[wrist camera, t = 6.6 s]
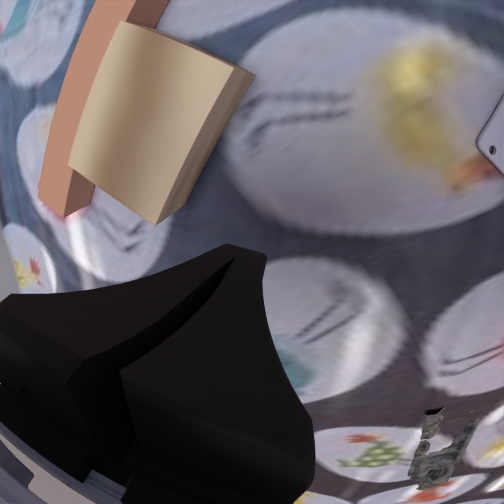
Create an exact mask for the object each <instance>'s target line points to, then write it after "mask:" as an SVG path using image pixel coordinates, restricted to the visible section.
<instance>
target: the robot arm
mask: <svg viewBox="0 0 504 504" xmlns="http://www.w3.org/2000/svg"><path fill="white" fill-rule="evenodd" d="M477 145H478V148H479V149H480V151H481V152H482V153H483V154H484V155H485V156H486V157H487V158H488V159H489V160H490V161H491V162H492V163H493V164H494V165H495V166H496V167H497V168H498V169H499V170H500V171H501V173H502V174H503V175H504V96H503V98H502V100H501V101H500V103H499V105H498V106H497V108H496V110H495V111H494V113H493V115H492V116H491V118H490V120H489V121H488V123H487V125H486V126H485V128H484V130H483V131H482V133H481V134H480V136H479V137H478V140H477ZM490 146H493V152H492V153H491V154H490V152H489V147H490ZM266 261H267V257H266V255H265V254H264V253H260V252H257V251H253V250H249V249H245V248H242V247H238V246H234V245H231V244H224V245H222V246H219V247H217V248H215V249H213V250H211V251H209V252H206V253H204V254H202V255H200V256H198V257H195V258H193V259H191V260H189V261H187V262H184V263H182V264H179V265H177V266H174V267H172V268H169V269H166V270H164V271H161V272H159V273H156V274H153V275H150V276H147V277H144V278H140V279H137V280H133V281H130V282H126V283H122V284H117V285H112V286H107V287H102V288H96V289H91V290H84V291H76V292H65V293H51V294H10V295H9V296H8V297H6V298H5V299H4V300H3V301H1V302H0V383H1V384H0V434H2V435H3V436H4V437H5V438H6V439H7V440H8V441H9V442H10V443H12V444H13V445H14V446H15V447H16V448H17V449H19V450H20V451H21V452H22V453H24V454H25V455H26V456H27V457H28V458H30V459H31V460H32V461H33V462H35V463H36V464H38V465H39V466H40V467H41V468H43V469H44V470H46V471H47V472H48V473H49V474H51V475H52V476H54V477H55V478H57V479H58V480H59V481H61V482H62V483H64V484H65V485H67V486H68V487H70V488H72V489H73V490H74V491H76V492H78V493H79V494H81V495H82V496H84V497H86V498H87V499H89V500H91V501H93V502H94V503H96V504H293V503H294V502H295V501H296V500H297V499H298V498H299V497H300V496H301V495H302V494H303V493H304V492H305V491H306V490H307V489H308V488H309V487H310V485H311V484H312V482H313V479H314V474H315V440H314V432H313V424H312V419H311V417H310V415H309V414H308V412H307V411H306V409H305V408H304V406H303V404H302V403H301V401H300V399H299V398H298V396H297V394H296V392H295V391H294V389H293V387H292V385H291V383H290V381H289V379H288V377H287V375H286V373H285V371H284V368H283V366H282V363H281V361H280V359H279V356H278V354H277V351H276V349H275V346H274V343H273V340H272V337H271V333H270V330H269V326H268V322H267V318H266V312H265V306H264V300H263V286H262V280H263V275H264V270H265V266H266ZM33 478H34V474H33V473H32V472H31V471H30V470H29V469H28V468H27V467H26V466H25V465H24V464H22V463H21V462H20V461H19V460H18V459H17V458H16V457H15V456H14V455H13V454H12V452H10V450H9V449H8V448H7V447H6V446H5V445H4V443H3V442H2V441H1V440H0V504H47V503H46V502H45V501H43V500H42V499H41V498H39V497H38V496H37V495H35V494H34V493H33V492H31V491H30V490H29V489H28V485H29V483H30V482H31V480H32V479H33Z"/></svg>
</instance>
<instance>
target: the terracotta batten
mask: <svg viewBox="0 0 504 504" xmlns="http://www.w3.org/2000/svg"><path fill="white" fill-rule="evenodd" d="M168 2H169V0H96V2H95V4H94V6H93V8H92V10H91V12H90V14H89V17H88V19H87V21H86V23H85V26H84V28H83V30H82V33H81V35H80V38H79V40H78V43H77V45H76V48H75V50H74V53H73V56H72V59H71V61H70V64H69V67H68V70H67V73H66V76H65V79H64V82H63V85H62V88H61V92H60V95H59V98H58V102H57V105H56V109H55V113H54V117H53V120H52V124H51V129H50V133H49V137H48V142H47V146H46V151H45V156H44V161H43V167H42V173H41V179H40V185H39V192H38V198H39V199H40V200H41V201H42V202H43V203H45V204H46V205H47V206H48V207H50V208H51V209H52V210H53V211H55V212H56V213H57V214H58V215H60V216H61V217H62V218H64V217H66V216H68V215H70V214H72V213H74V212H76V211H77V210H79V209H81V208H83V207H85V206H87V205H89V204H90V202H91V198H92V194H93V190H94V186H95V184H94V183H92V182H91V181H89V180H88V179H87V178H85V177H84V176H83V175H81V174H80V173H78V172H77V171H76V170H74V169H73V168H72V167H70V166H69V165H68V162H69V158H70V154H71V150H72V146H73V143H74V139H75V136H76V132H77V129H78V126H79V123H80V119H81V116H82V113H83V110H84V107H85V104H86V101H87V98H88V96H89V93H90V90H91V87H92V85H93V82H94V79H95V77H96V74H97V72H98V69H99V67H100V64H101V62H102V60H103V57H104V55H105V52H106V50H107V48H108V46H109V43H110V41H111V39H112V37H113V35H114V33H115V31H116V28H117V26H118V24H119V22H120V20H122V21H126V22H130V23H134V24H138V25H142V26H146V27H149V28H153V29H154V28H155V26H156V24H157V23H158V21H159V19H160V17H161V15H162V13H163V11H164V9H165V8H166V6H167V4H168Z"/></svg>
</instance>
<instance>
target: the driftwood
mask: <svg viewBox="0 0 504 504" xmlns="http://www.w3.org/2000/svg"><path fill="white" fill-rule="evenodd" d="M444 408H445V407H444ZM444 408H443V409H442V410H444ZM442 410H441V411H442ZM474 410H475V409H473V410H471V411H469V412H468V413H471V412H473V411H474ZM441 411H440V412H441ZM440 412H439V413H437V414H434V415H426V422H425V423H429V422H431V421H434V420H435V422H436V421H438V422H436V423H435V424H431V425H427V424H425V426H424V427H423V431H422V432H423V433H422V436H421V440H422V439H430V438H432V437H433V436H434V435H435V434H436V433H437V432H438V431H439V429H440V428H439V427H438V424H439V423H440V422H441V421H442V420H443V419H444V418H443V416H442V415H441V414H440ZM437 418H438V419H437ZM479 421H480V419H472V420H471V421H469V422H468V424H467V425H466V426H465V428H464V430H463V431H462V432H461V433H460V434H459V435H457V436H455V437H456V438H455V439H454V440H453V441H454V442H453V443H452V444H451V446H449V447H447V448H444V449H442V450H440V451H436V452H432V453H429V455H425V453H426V452H427V451H428V450H429V447H430V444H429V442H428V441H426V440H424V441H420V444H419V447H418V450H417V452H416V453H415V454H414V460H413V462H412V464H411V468H410V470H409V473H408V476H411V477H410V478H411V481H416V482H415V483H416V484H417V485H419V487H418V488H416V489H418V490H429V489H433V488H435V487H438V486H440V485H442V484H444V483H447V482H448V480H449V478H450V477H451V475H452V472H453V470H454V468H455V467H456V466H457V464H458V461H459V460H460V459H461V458H462V456H463V453H464V451H465V450H466V448H467V445H468V444H469V442H470V440H471V438H472V436H473V433H474V431H475V430H476V427H477V426H478V422H479ZM434 428H437V429H436V430H434V431H433V432H430V431H432V430H433V429H434ZM427 432H428V434H426V433H427Z"/></svg>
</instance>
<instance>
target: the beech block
mask: <svg viewBox="0 0 504 504" xmlns="http://www.w3.org/2000/svg"><path fill="white" fill-rule="evenodd" d="M255 76H256V75H255V74H253V73H251V72H249V71H247V70H245V69H243V68H241V67H239V66H237V65H235V64H233V63H231V62H229V61H227V60H225V59H223V58H221V57H219V56H217V55H215V54H213V53H211V52H209V51H206V50H204V49H202V48H200V47H198V46H195V45H193V44H191V43H188V42H186V41H184V40H181V39H179V38H177V37H174V36H172V35H169V34H167V33H164V32H162V31H159V30H156V29H153V28H149V27H146V26H142V25H138V24H134V23H130V22H126V21H122V20H120V22H119V24H118V26H117V28H116V31H115V33H114V35H113V37H112V39H111V41H110V43H109V46H108V48H107V50H106V52H105V55H104V57H103V60H102V62H101V64H100V67H99V69H98V72H97V74H96V77H95V79H94V82H93V85H92V87H91V90H90V93H89V96H88V98H87V101H86V104H85V107H84V110H83V113H82V116H81V119H80V123H79V126H78V129H77V132H76V136H75V139H74V143H73V146H72V150H71V154H70V158H69V162H68V165H69V166H70V167H72V168H73V169H74V170H76V171H77V172H78V173H80V174H81V175H83V176H84V177H85V178H87V179H88V180H89V181H91V182H92V183H94V184H95V185H96V186H98V187H99V188H101V189H102V190H103V191H105V192H106V193H108V194H109V195H110V196H112V197H113V198H115V199H116V200H118V201H119V202H120V203H122V204H123V205H125V206H126V207H128V208H129V209H130V210H132V211H133V212H135V213H136V214H138V215H139V216H140V217H142V218H143V219H145V220H146V221H148V222H149V223H151V224H152V225H153V226H156V225H157V224H159V223H160V222H161V221H163V220H164V219H166V218H167V217H168V216H170V215H171V214H172V213H174V212H175V211H177V210H178V209H179V208H181V207H182V206H184V205H185V203H186V201H187V199H188V197H189V195H190V193H191V191H192V189H193V187H194V185H195V183H196V181H197V179H198V177H199V175H200V174H201V172H202V170H203V168H204V166H205V164H206V162H207V160H208V158H209V156H210V155H211V153H212V151H213V149H214V147H215V145H216V143H217V142H218V140H219V138H220V136H221V134H222V132H223V131H224V129H225V127H226V125H227V124H228V122H229V120H230V118H231V116H232V115H233V113H234V111H235V109H236V108H237V106H238V104H239V103H240V101H241V99H242V97H243V96H244V94H245V92H246V91H247V89H248V87H249V86H250V84H251V82H252V81H253V79H254V77H255Z"/></svg>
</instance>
